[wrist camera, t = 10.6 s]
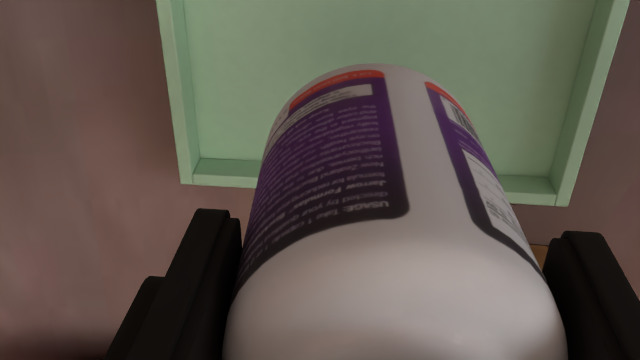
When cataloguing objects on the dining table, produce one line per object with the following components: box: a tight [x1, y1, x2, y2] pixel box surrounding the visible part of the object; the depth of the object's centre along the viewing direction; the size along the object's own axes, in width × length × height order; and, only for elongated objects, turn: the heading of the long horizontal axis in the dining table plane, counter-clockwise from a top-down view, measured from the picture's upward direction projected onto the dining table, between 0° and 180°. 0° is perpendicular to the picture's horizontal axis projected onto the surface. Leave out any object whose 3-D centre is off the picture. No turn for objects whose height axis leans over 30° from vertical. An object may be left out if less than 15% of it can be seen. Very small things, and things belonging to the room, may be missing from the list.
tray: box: [156, 0, 630, 207], centre depth 22 cm, size 17×13×2 cm
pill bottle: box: [222, 63, 568, 360], centre depth 11 cm, size 5×5×10 cm
